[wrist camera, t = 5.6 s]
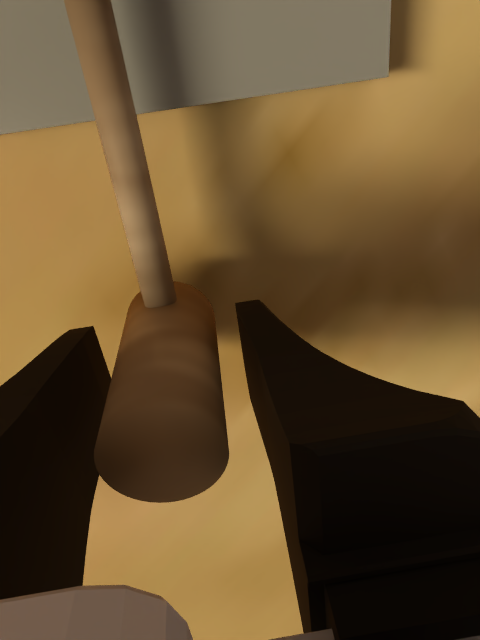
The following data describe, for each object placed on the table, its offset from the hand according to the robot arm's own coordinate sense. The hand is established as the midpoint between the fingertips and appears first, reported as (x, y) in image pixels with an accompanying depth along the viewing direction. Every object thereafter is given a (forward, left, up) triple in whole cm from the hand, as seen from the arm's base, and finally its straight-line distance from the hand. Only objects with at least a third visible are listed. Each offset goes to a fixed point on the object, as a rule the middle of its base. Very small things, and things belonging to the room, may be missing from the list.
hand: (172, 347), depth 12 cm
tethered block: (0, -6, -1) cm, 6 cm away
